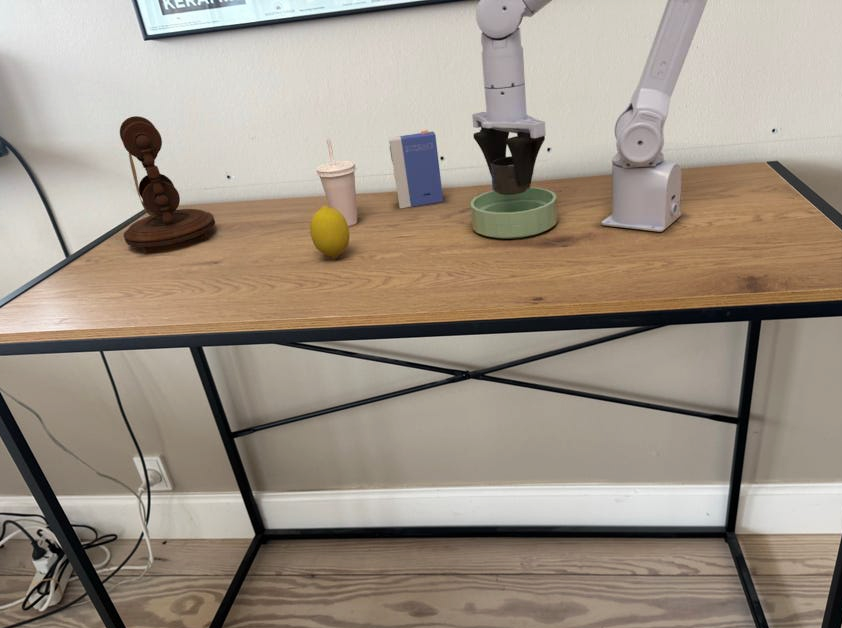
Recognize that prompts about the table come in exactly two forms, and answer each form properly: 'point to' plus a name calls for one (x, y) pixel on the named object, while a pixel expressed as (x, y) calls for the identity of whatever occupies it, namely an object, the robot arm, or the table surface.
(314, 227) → the lemon
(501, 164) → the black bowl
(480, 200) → the sage bowl
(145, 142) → the brown pulley stand
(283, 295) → the table surface
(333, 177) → the smoothie
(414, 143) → the walkman
